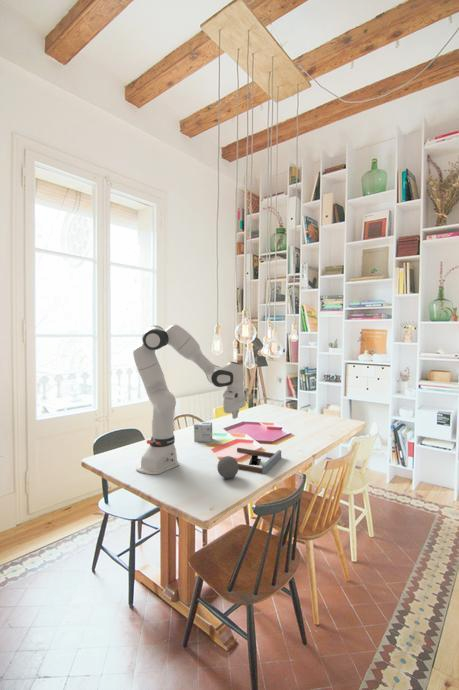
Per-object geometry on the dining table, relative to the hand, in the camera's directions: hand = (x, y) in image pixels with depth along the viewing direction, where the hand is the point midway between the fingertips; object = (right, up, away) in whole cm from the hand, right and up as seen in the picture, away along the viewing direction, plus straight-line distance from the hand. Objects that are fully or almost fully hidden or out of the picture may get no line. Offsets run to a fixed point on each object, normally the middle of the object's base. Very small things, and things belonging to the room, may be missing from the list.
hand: (235, 418), depth 195 cm
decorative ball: (-4, -24, -22) cm, 33 cm away
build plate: (+10, -23, -3) cm, 25 cm away
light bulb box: (-19, -21, +34) cm, 44 cm away
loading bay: (+8, -22, -2) cm, 24 cm away
